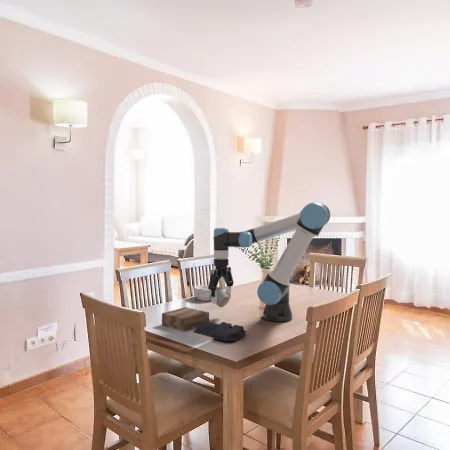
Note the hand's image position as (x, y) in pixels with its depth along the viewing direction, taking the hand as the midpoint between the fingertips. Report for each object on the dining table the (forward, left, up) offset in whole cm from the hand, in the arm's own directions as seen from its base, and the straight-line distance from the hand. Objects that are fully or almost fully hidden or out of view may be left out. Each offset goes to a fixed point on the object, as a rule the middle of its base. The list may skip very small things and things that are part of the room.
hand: (221, 300), depth 214 cm
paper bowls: (+31, -27, -9) cm, 42 cm away
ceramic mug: (0, 0, -3) cm, 3 cm away
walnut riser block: (+6, +20, -9) cm, 23 cm away
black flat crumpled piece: (-14, +20, -9) cm, 27 cm away
